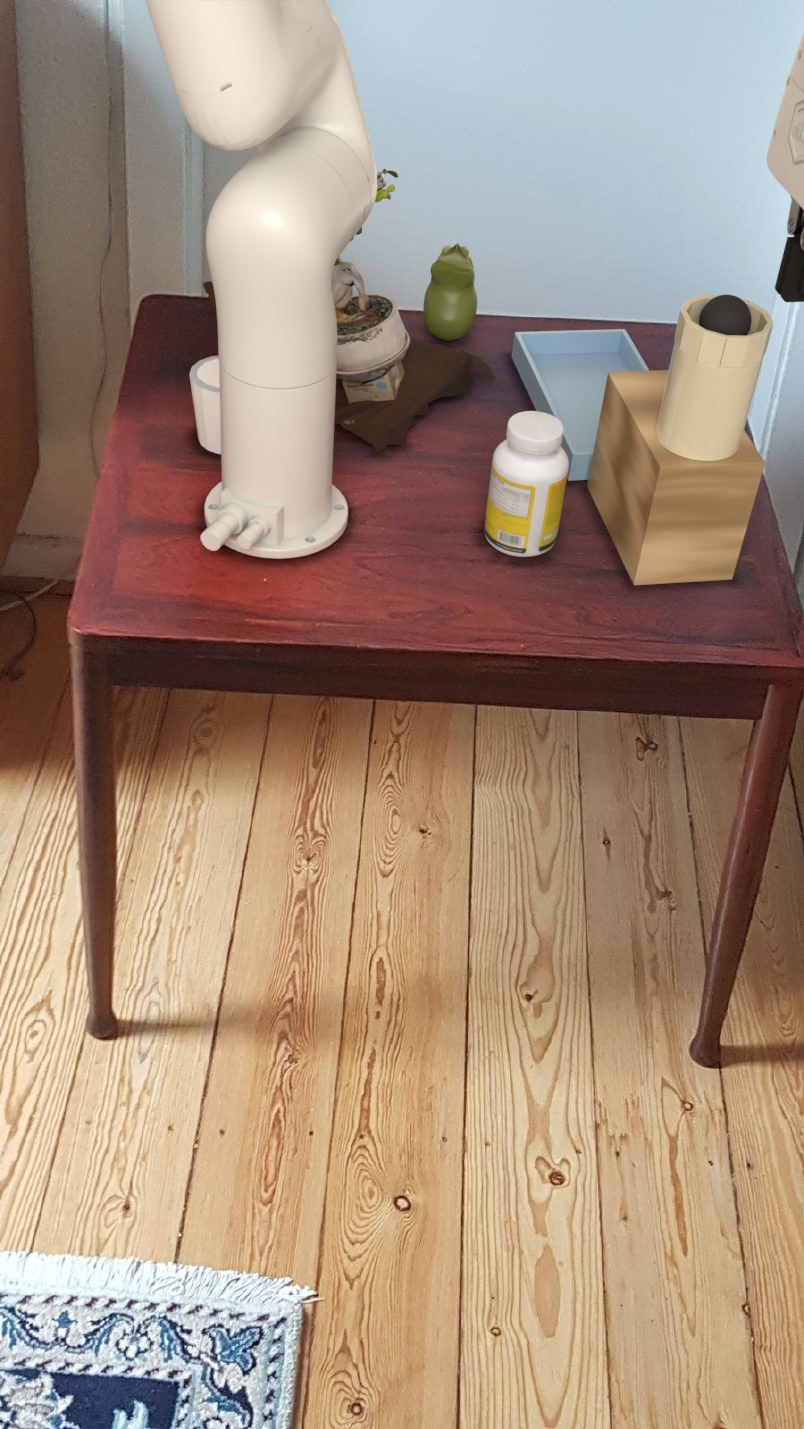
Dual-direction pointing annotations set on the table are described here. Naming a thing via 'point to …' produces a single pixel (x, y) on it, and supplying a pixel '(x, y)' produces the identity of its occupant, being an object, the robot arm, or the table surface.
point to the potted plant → (385, 359)
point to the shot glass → (207, 402)
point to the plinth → (667, 490)
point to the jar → (710, 384)
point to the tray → (573, 381)
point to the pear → (451, 295)
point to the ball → (726, 316)
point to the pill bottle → (527, 486)
